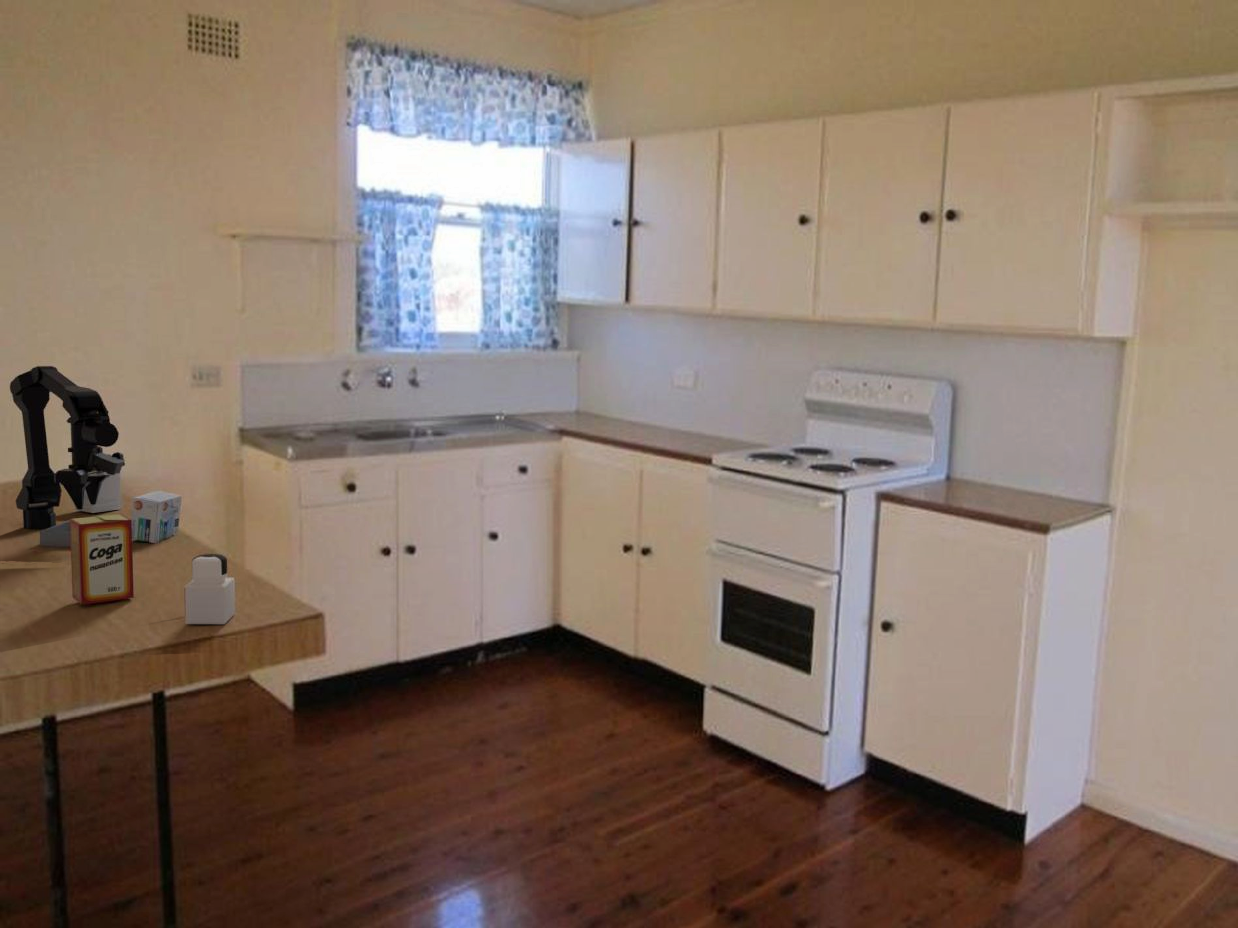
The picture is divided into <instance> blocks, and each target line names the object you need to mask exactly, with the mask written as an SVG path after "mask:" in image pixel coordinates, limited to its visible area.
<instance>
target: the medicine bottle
mask: <svg viewBox="0 0 1238 928" xmlns="http://www.w3.org/2000/svg"><path fill="white" fill-rule="evenodd" d="M191 578H192V580H191V581H190V582H189V583H188V584H186V585H185V586H184V621H185V624H186V625H226V624H227V623H228V622H229V620H230V619H231V618H232V617H233V616H234V615H235V614H236V593H235V592H236V589H235V588H236V587H235V584H236V583H235V578H234V577H228V558H227V557H226V556H224V555H222V554H218V553H205V554H200V555H197V556H195V557H194V558H192V560H191Z"/></svg>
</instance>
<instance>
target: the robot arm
mask: <svg viewBox="0 0 1238 928" xmlns="http://www.w3.org/2000/svg"><path fill="white" fill-rule="evenodd" d="M9 391H10V393H11V396H12V400H13V403H14V404H15V405H16V407H17V408H18V409H19V411H21V415H22V423H23V424H22V426H23V434H24V442H25V453H26V463H27V470H26V473H25V474H24V476H23V477H22V479H21V484H22V485H21V487H22V488H21V489H20V491H19V493H18V495H17V497H16V499H15V505H16V509H18V510H22V519H23V520H22V524H23V529H27V530H45V529H47V528H50V527H53V526H55V525H57V520H56V518H57V516H56V515H57V514H56V512H55V510H54V507H56V508H57V507H58V508H60V502H61V498H62V497H61V496H62V492H63V491H62V490H63V489H62V487H63V488H64V490H66V492H67V494H68V496H69V498H70V499H71V501H72V503H73V505H74V507H75V506H76V508H77V509H78V510H77V511H79V510H82V509H83V503H84V492H85V490H86V493H87V496H88V499H89V501H90V504H91V505H95V504H96V502H97V498H98V495H99V491H100V488H101V485H102V482H103V481H104V480H106V479H107V478H108V477H109V476H110V475H115V474H117V473H120V474H121V471H122V469H123V467H124V466H126V463H125V460H126V459H124V453H121V452H120V451H117V452H113V454H110V453H109V454H108V453H107V454H106V453H104V452H103V451H104V450H103V448H102V447H105V448H109V447H112V446H114V445H115V444H117V442H118V440H119V433H120V432H119V430H118V429H117V427H116V426H115V425H114V424H113V423H111V418H110V415H109V413H110V412H109V410H108V409H107V407H106V405H105V404H104V403H105V402H104V401H103V399H102V397H101V395H100V394H99V393H100V392H98V391H97V390H95V389H92V388H89V387H84V386H79V385H77V384H76V383H75V382H73V381H72V380H71V379H69V378H68V377H67V376H65V375H64V374H63V373H61V372H60V371H59V370H58V368H57V367H55V366H53V365H36V366H34V367H32V368H31V369H30V370H28V371H25V372H24V373H21V374H18V375H17V376H15V377H14V378H13V380H11V382H10V384H9ZM51 393H52V394H54V395H55V396H56V397H57V398H59V399H60V400H61V401H62V404H61V405H62V408H63V409H64V410H65V411H66V413H67V414H68V415H69V417H68V419H66V423H67V424H70V441H71V442H70V443H71V444H70V445H71V447H67V453H71V463H70V464H68V468H62V469H60V470H57V471H56V472H54V470H53V469H52V468H51V467H50V465H51V464H50V456H49V447H48V439H47V431H46V429H47V428H46V419H45V412H44V411H45V409H46V407H47V405H48V404H49V402H50V397H51V396H50V394H51ZM104 472H106V473H107V474H110V475H104ZM61 485H62V486H61Z"/></svg>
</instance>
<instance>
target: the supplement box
mask: <svg viewBox="0 0 1238 928" xmlns="http://www.w3.org/2000/svg"><path fill="white" fill-rule="evenodd" d="M104 475H110V474H107V473H106V472H104ZM121 484H122V483H121V472H120V473H117V474H115V475H110V476H109V477H108V478H107V479H106V480H104V481H103V482H102V485H101V488H100V491H99V495H98V498H97V502H96V504H95V505H91V504H90V501H89V499H88V496H87V493H86V490H85V492H84V503H83V509H82V510H78V509H77V508H76V506H75V505H74V510H75V511H80V512H85V513H91V514H94V513H102V512H110V511H115V510H116V511H119V510H122V487H121V486H122V485H121Z"/></svg>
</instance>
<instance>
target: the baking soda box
mask: <svg viewBox="0 0 1238 928" xmlns="http://www.w3.org/2000/svg"><path fill="white" fill-rule="evenodd" d="M69 520H70V541H71V547H70V562H71V563H70V564H71V565H70V566H71V593H72V598H73V600H75V601H76V602H78V603H79V604H80V605H81V606H82V605H83V606H84V605H90V604H91V605H92V604H96V603H97V604H98V603H105V602H112V601H119V600H126V599H134V561H133V558H134V557H133V539H132V518H129V517H127V516H126V515H123V514H122V513H121V514H106V515H105V514H104V515H96V516H90V517H89V516H87V517H78V518H75V517H74V518H70V519H69Z"/></svg>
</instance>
